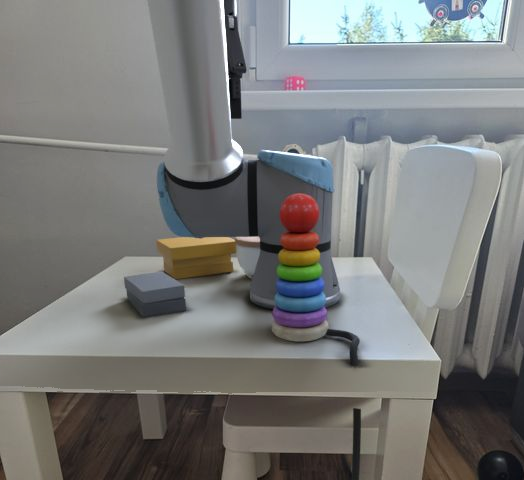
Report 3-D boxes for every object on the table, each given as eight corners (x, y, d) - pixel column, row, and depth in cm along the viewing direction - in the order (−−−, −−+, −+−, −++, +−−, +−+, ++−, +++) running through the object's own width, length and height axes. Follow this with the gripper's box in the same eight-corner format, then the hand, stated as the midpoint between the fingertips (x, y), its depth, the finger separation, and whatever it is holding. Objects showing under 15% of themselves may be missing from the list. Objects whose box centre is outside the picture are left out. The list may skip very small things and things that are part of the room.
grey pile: (187, 310, 80) (185, 286, 78) (142, 317, 77) (139, 292, 75) (167, 292, 89) (165, 271, 87) (126, 298, 86) (123, 276, 84)
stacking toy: (335, 327, 71) (341, 191, 64) (318, 347, 65) (322, 198, 57) (284, 320, 74) (284, 190, 67) (262, 339, 68) (260, 196, 60)
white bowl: (251, 267, 106) (250, 222, 102) (298, 272, 101) (298, 225, 98) (226, 279, 97) (224, 230, 93) (276, 285, 92) (276, 234, 89)
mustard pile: (219, 264, 109) (218, 245, 108) (233, 271, 103) (232, 252, 101) (163, 271, 104) (161, 252, 102) (174, 279, 97) (172, 259, 96)
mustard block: (171, 260, 95) (170, 248, 94) (157, 251, 103) (156, 239, 102) (238, 252, 101) (238, 241, 100) (219, 244, 109) (219, 233, 108)
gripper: (264, -25, 82) (265, 117, 90) (209, 9, 102) (215, 122, 110) (222, -31, 79) (227, 117, 87) (174, 5, 99) (182, 122, 107)
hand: (220, 120), depth 99 cm, fingers open, 13 cm apart
